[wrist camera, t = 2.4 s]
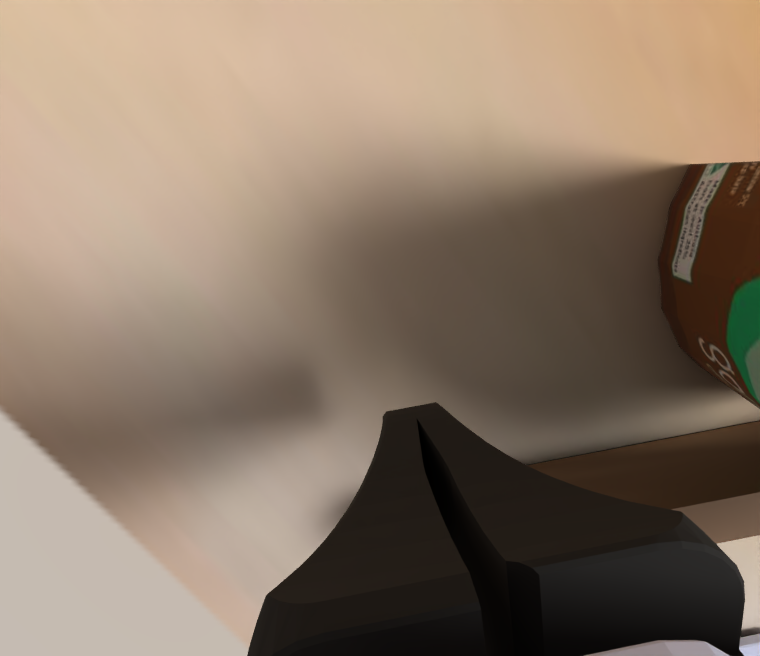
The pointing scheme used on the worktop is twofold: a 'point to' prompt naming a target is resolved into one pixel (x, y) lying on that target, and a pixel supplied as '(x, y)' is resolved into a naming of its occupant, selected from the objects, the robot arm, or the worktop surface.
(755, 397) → the food container
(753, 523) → the rail
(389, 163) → the worktop surface
